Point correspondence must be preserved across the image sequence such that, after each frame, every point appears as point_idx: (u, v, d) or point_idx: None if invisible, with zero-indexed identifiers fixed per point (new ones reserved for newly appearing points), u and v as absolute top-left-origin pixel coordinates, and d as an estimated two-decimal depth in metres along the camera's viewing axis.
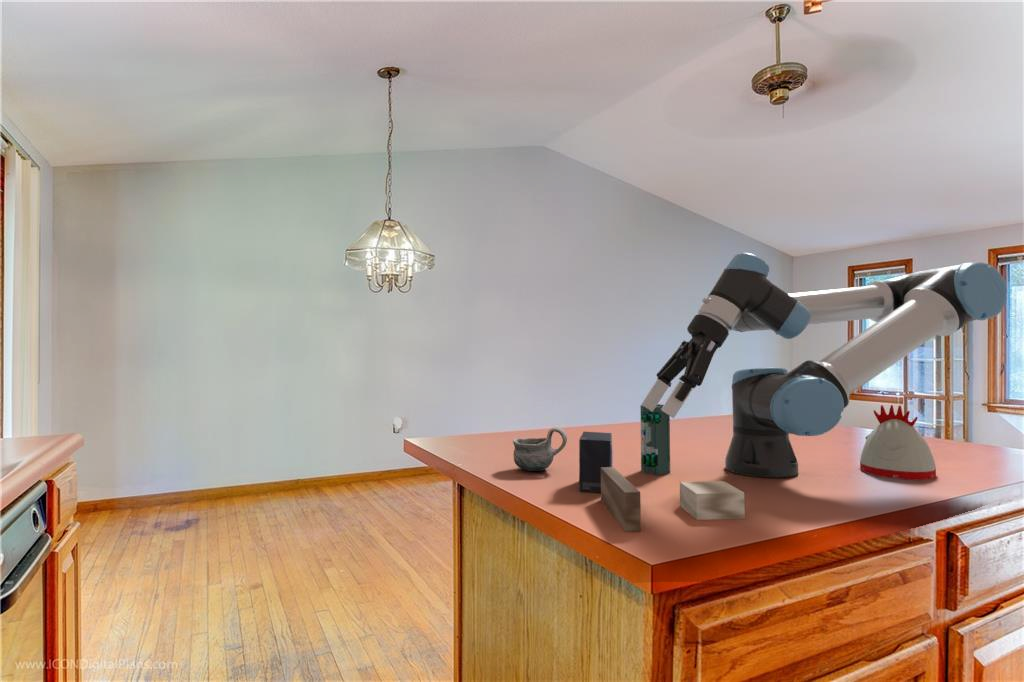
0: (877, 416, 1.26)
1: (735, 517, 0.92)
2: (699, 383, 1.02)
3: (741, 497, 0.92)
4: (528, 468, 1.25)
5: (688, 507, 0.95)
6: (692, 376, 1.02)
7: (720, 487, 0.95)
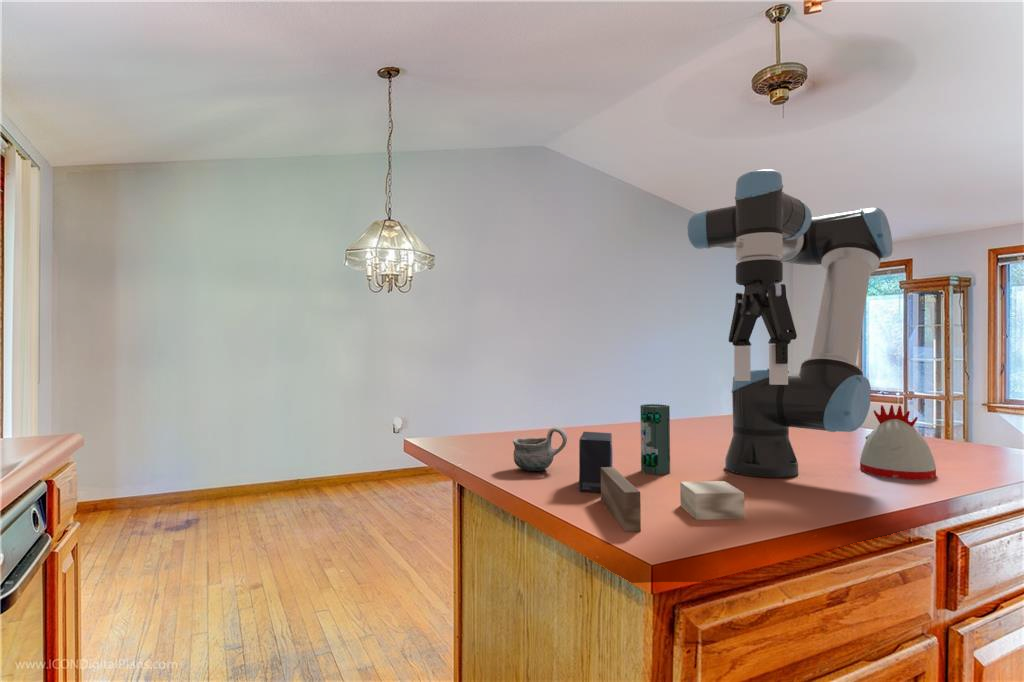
0: (877, 416, 1.26)
1: (735, 517, 0.92)
2: (794, 336, 0.87)
3: (741, 497, 0.92)
4: (528, 468, 1.25)
5: (688, 507, 0.95)
6: (783, 334, 0.87)
7: (720, 487, 0.95)
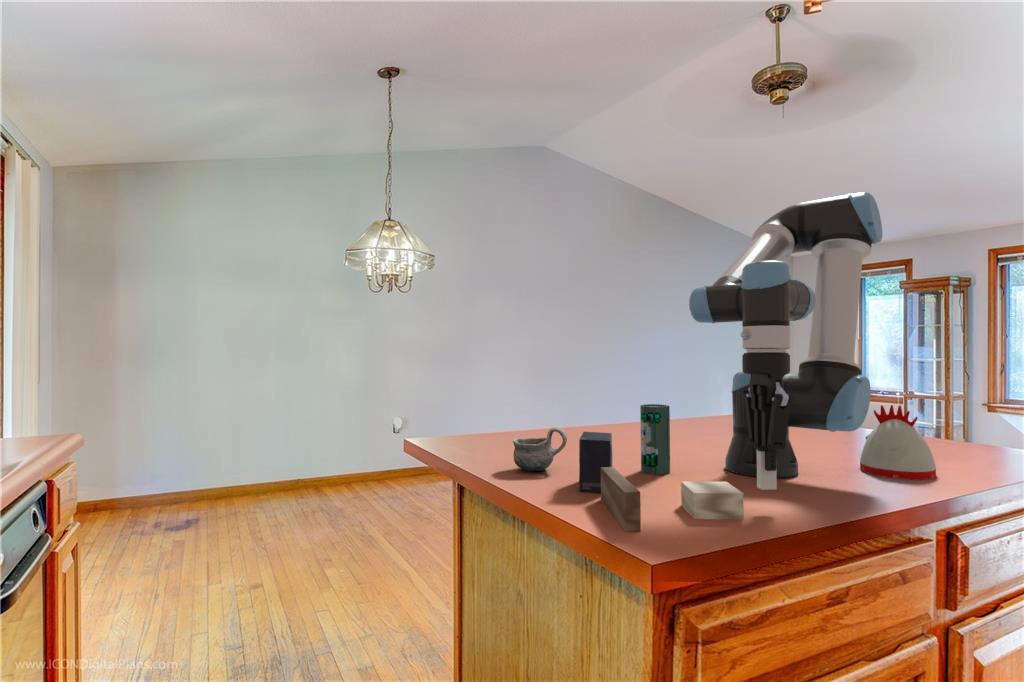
0: (877, 416, 1.26)
1: (734, 517, 0.91)
2: (781, 448, 0.93)
3: (740, 498, 0.91)
4: (528, 468, 1.25)
5: (687, 506, 0.96)
6: (772, 445, 0.92)
7: (720, 487, 0.95)
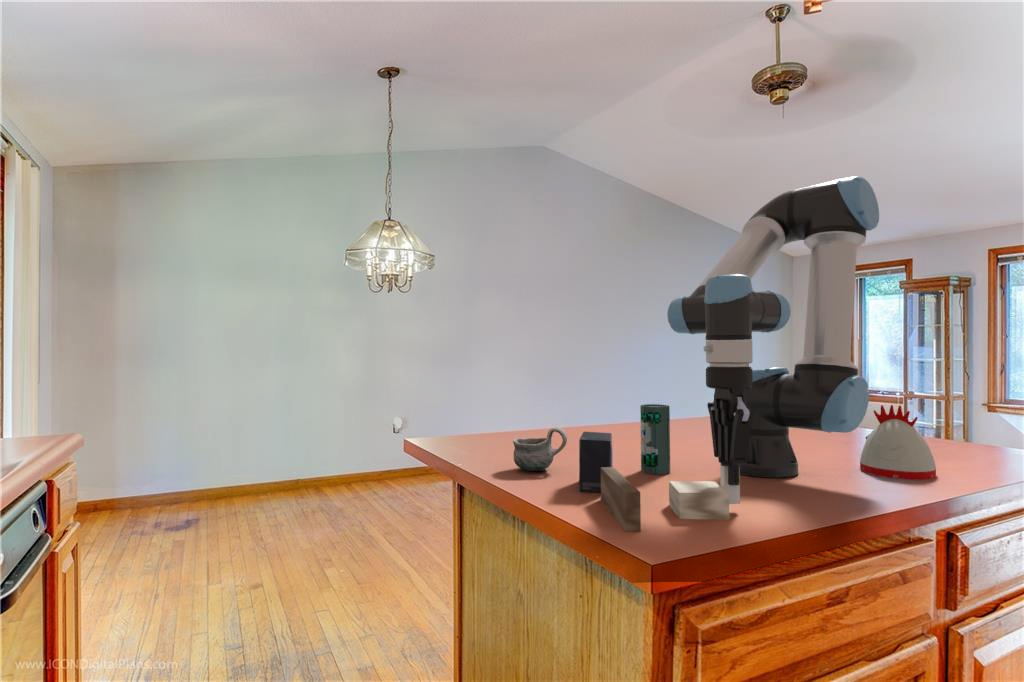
0: (877, 416, 1.26)
1: (719, 517, 0.91)
2: (744, 463, 0.92)
3: (725, 497, 0.91)
4: (528, 468, 1.25)
5: (674, 506, 0.96)
6: (734, 460, 0.92)
7: (707, 487, 0.95)
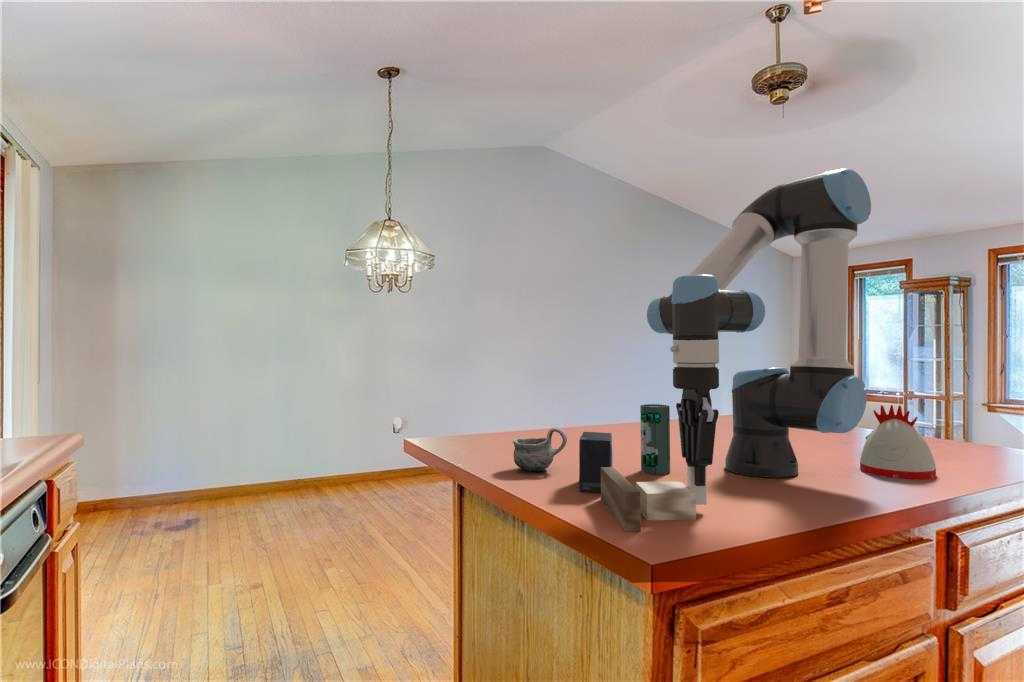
0: (877, 416, 1.26)
1: (686, 518, 0.91)
2: (709, 464, 0.92)
3: (692, 498, 0.91)
4: (528, 468, 1.25)
5: (641, 507, 0.95)
6: (699, 461, 0.92)
7: (674, 487, 0.95)
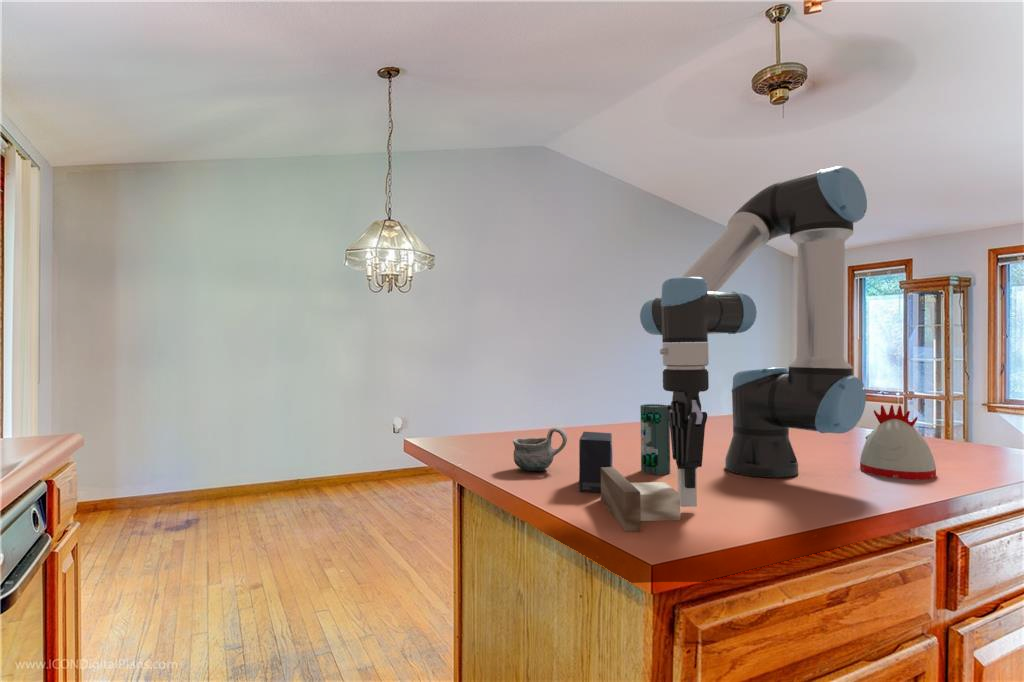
0: (877, 416, 1.26)
1: (671, 518, 0.91)
2: (699, 466, 0.92)
3: (677, 498, 0.91)
4: (528, 468, 1.25)
5: None
6: (689, 463, 0.92)
7: (658, 488, 0.95)
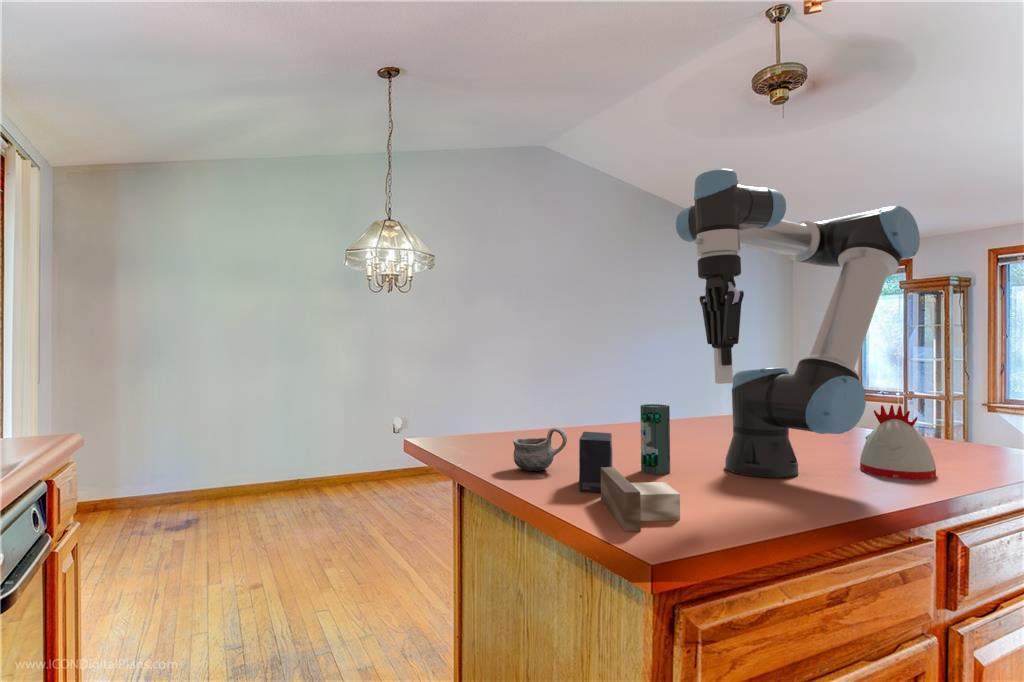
0: (877, 416, 1.26)
1: (670, 518, 0.91)
2: (735, 343, 1.00)
3: (677, 498, 0.91)
4: (528, 468, 1.25)
5: None
6: (727, 340, 1.00)
7: (658, 488, 0.95)
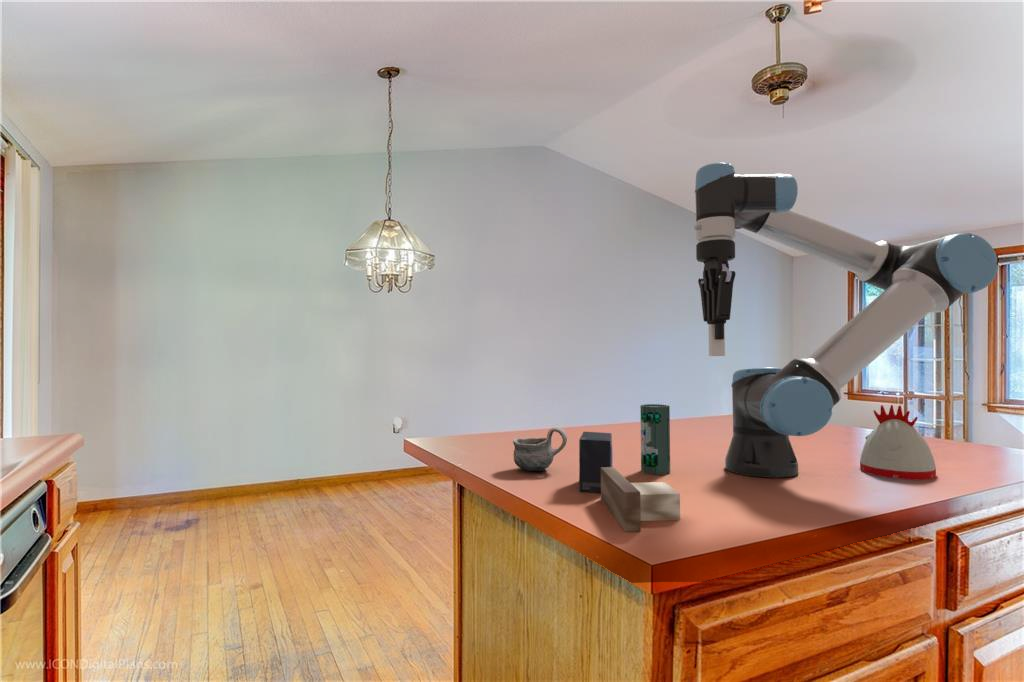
0: (877, 416, 1.26)
1: (670, 518, 0.91)
2: (727, 319, 1.11)
3: (677, 498, 0.91)
4: (528, 468, 1.25)
5: None
6: (719, 316, 1.11)
7: (658, 488, 0.95)
